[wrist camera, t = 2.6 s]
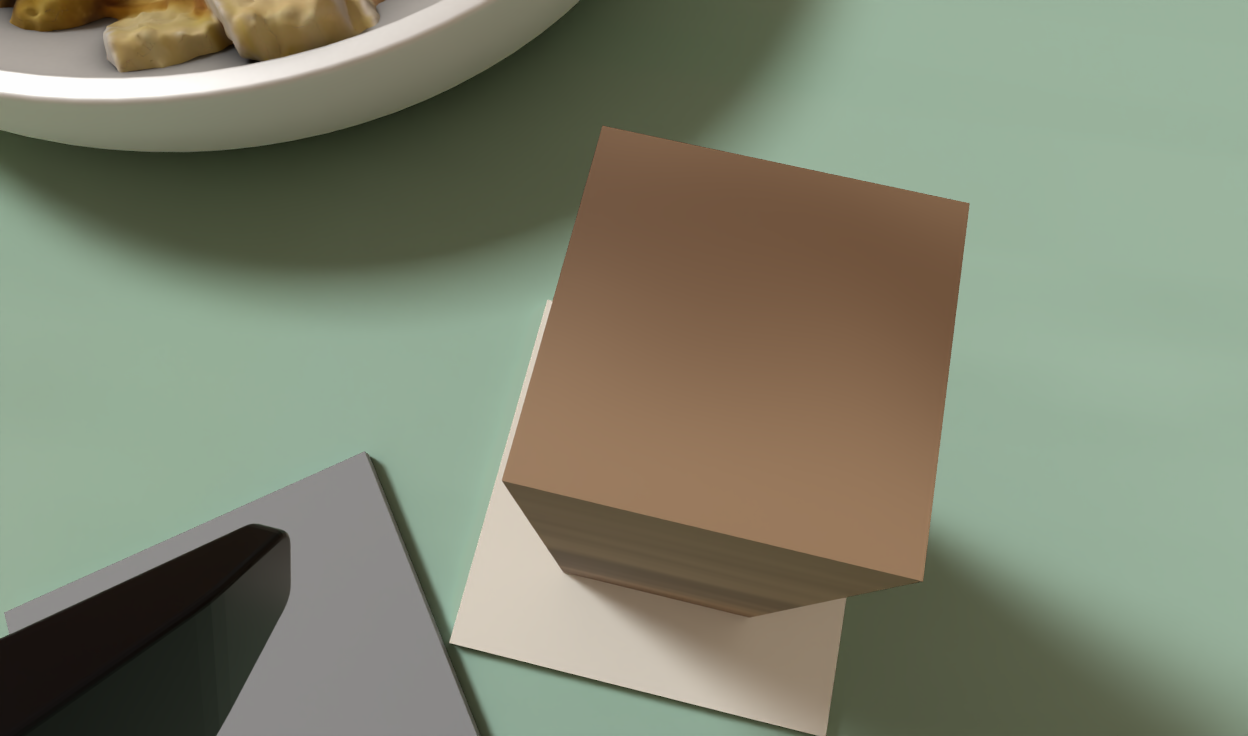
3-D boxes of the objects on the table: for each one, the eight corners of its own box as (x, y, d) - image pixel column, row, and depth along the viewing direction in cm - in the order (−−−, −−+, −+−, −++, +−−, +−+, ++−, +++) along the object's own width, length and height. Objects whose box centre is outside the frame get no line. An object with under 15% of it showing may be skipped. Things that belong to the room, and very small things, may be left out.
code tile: (822, 736, 20) (825, 737, 20) (451, 643, 20) (449, 642, 20) (876, 378, 23) (879, 374, 22) (548, 303, 23) (547, 299, 23)
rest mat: (508, 806, 19) (506, 809, 19) (116, 1011, 18) (105, 1020, 18) (369, 454, 22) (364, 451, 21) (15, 613, 20) (3, 612, 20)
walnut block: (748, 617, 20) (922, 581, 9) (562, 571, 21) (501, 481, 9) (782, 435, 22) (969, 203, 10) (607, 395, 22) (603, 125, 11)
